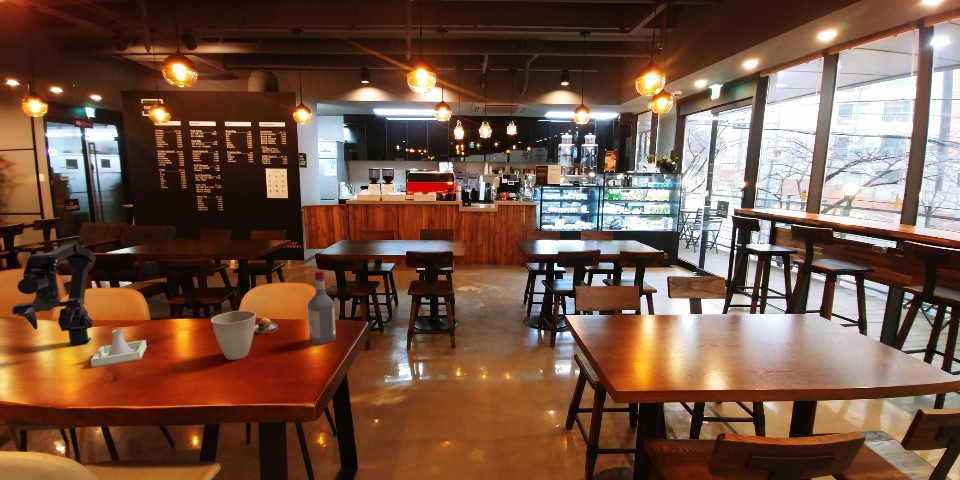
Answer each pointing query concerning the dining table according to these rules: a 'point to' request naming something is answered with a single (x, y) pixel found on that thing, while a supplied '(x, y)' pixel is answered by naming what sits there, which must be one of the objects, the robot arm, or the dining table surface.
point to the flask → (119, 344)
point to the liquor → (321, 314)
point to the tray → (103, 358)
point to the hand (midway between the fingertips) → (52, 327)
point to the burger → (265, 326)
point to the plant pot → (234, 332)
